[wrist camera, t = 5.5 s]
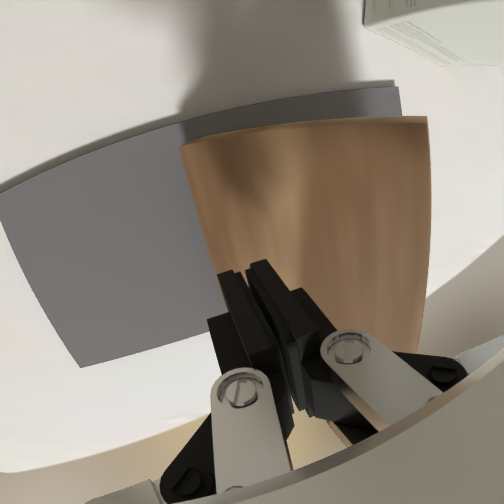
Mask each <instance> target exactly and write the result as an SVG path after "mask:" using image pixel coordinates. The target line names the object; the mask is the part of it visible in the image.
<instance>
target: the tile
mask: <svg viewBox="0 0 504 504" xmlns="http://www.w3.org/2000/svg"><path fill="white" fill-rule="evenodd" d="M179 150H180V153H181V157H182V161H183V164H184V168H185V172H186V175H187V179H188V183H189V186H190V190H191V193H192V197H193V200H194V204H195V207H196V211H197V214H198V218H199V221H200V225H201V228H202V232H203V235H204V238H205V242H206V245H207V248H208V252H209V255H210V258H211V262H212V265H213V268H214V271H215V275H216V278H217V274H219V273H222V272H225V271H228V270H232V269H233V271H234V273H237V272H241V274H242V276H243V277H244V279H245V281H246V283H247V285H248V282H247V278H246V274H245V270H246V269H249V268H250V263H253V262H256V261H260V260H263V259H267V261H268V262H269V263H270V265H271V266H272V267H273V269H274V270H275V271H276V273H277V274H278V275H279V277H280V278H281V279H282V281H283V282H284V283H285V285H286V286H287V287H288V289H289V290H290V291H292V290H294V289H297V288H300V287H301V288H303V289H304V290H305V291H306V292H307V294H308V295H309V296H310V297H311V298H312V300H313V301H314V302H315V303H316V305H317V306H318V307H319V308H320V310H321V311H322V312H323V313H324V314H325V316H326V317H327V318H328V319H329V321H330V322H331V323H332V324H333V326H334V327H335V328H336V329H337V331H338V330H342V329H348V328H349V329H359V330H363V331H365V332H367V333H369V334H371V335H372V336H373V337H374V338H376V339H377V340H378V341H379V342H381V343H382V344H383V345H384V346H386V347H387V348H388V349H389V350H391V351H396V352H404V353H412V354H416V352H417V347H418V342H419V337H420V332H421V326H422V319H423V312H424V305H425V297H426V288H427V278H428V267H429V254H430V236H431V162H430V144H429V131H428V121H427V116H381V117H358V118H341V119H328V120H317V121H306V122H297V123H288V124H279V125H272V126H264V127H257V128H250V129H244V130H237V131H231V132H225V133H220V134H214V135H209V136H205V137H202V138H199V139H197V140H194V141H191V142H188V143H186V144H183V145H181V146H179ZM217 281H218V278H217ZM218 284H219V281H218ZM219 287H220V284H219ZM248 287H249V286H248ZM220 291H221V287H220ZM221 294H222V291H221ZM222 297H223V294H222ZM223 300H224V297H223ZM224 303H225V300H224ZM225 306H226V303H225ZM226 310H227V307H226ZM227 312H228V310H227Z"/></svg>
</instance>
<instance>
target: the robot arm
mask: <svg viewBox="0 0 504 504" xmlns="http://www.w3.org/2000/svg"><path fill="white" fill-rule="evenodd" d="M245 274H246V278H247V282H248V285H247V283H246V281H245V279H244V277H243V276H242V274H241V272H237V273H234V271H233V269H232V270H228V271H225V272H222V273H219V274H217V278H218V281H219V284H220V287H221V291H222V294H223V297H224V300H225V303H226V307H227V310H228V312H227V313H224V314H221V315H218V316H215V317H211V318H208V319H207V323H208V327H209V331H210V335H211V338H212V342H213V345H214V349H215V353H216V356H217V360H218V363H219V367H220V370H221V373H222V376H220V377H219V378H218V379H217V380H216V381H215V383H214V385H213V387H212V389H211V395H210V397H211V413H210V414H209V416H208V417H207V418H206V420H205V421H204V422H203V423H202V425H201V426H200V427H199V429H198V430H197V431H196V432H195V434H194V435H193V436H192V438H191V439H190V440H189V441H188V443H187V444H186V445H185V447H184V448H183V449H182V450H181V452H180V453H179V454H178V455H177V457H176V458H175V459H174V460H173V462H172V463H171V464H170V465H169V467H168V468H167V469H166V470H165V472H164V473H163V475H162V477H161V478H160V479H158V480H155V481H153V482H152V481H151V480H150V479H149V480H146V481H143V482H141V483H138V484H135V485H133V486H130V487H127V488H125V489H122V490H119V491H116V492H113V493H110V494H107V495H104V496H101V497H98V498H94V499H92V500H90V501H88V502H86V503H85V504H504V335H503V336H500V337H497V338H495V339H493V340H491V341H489V342H486V343H484V344H482V345H479V346H477V347H474V348H472V349H470V350H467V351H465V352H462V353H460V354H457V355H456V357H455V359H451V358H447V357H439V356H429V355H421V354H412V353H404V352H396V351H391V350H389V349H388V348H387V347H386V346H384V345H383V344H382V343H381V342H379V341H378V340H377V339H376V338H374V337H373V336H372V335H371V334H369V333H367V332H365V331H363V330H359V329H349V328H348V329H342V330H338V331H337V329H336V328H335V327H334V326H333V324H332V323H331V322H330V321H329V319H328V318H327V317H326V316H325V314H324V313H323V312H322V311H321V310H320V308H319V307H318V306H317V305H316V303H315V302H314V301H313V300H312V298H311V297H310V296H309V295H308V294H307V292H306V291H305V290H304V289H303V288H301V287H300V288H297V289H294V290H292V291H290V290H289V289H288V287H287V286H286V285H285V283H284V282H283V281H282V279H281V278H280V277H279V275H278V274H277V273H276V271H275V270H274V269H273V267H272V266H271V265H270V263H269V262H268V261H267V259H263V260H260V261H256V262H253V263H250V268H249V269H246V270H245ZM248 286H249V287H248ZM291 397H292V399H293V401H294V402H295V404H296V406H297V408H298V410H299V411H301V410H304V409H305V410H306V412H307V414H308V416H309V417H312V416H315V417H316V418H321V419H325V420H327V423H328V425H329V427H330V428H331V429H332V430H333V431H334V433H335V434H336V435H337V436H338V438H340V440H341V441H342V442H343V443H344V444H345V446H346V447H347V448H346V449H344V450H342V451H339V452H337V453H335V454H333V455H331V456H328V457H326V458H324V459H321V460H319V461H316V462H314V463H312V464H309V465H307V466H304V467H302V468H299V469H296V470H293V465H292V461H291V457H290V453H289V449H288V445H287V441H286V440H287V438H288V437H289V435H290V433H291V431H292V429H293V427H294V422H293V417H292V414H293V413H294V409H293V404H292V399H291Z"/></svg>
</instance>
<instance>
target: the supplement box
mask: <svg viewBox="0 0 504 504" xmlns="http://www.w3.org/2000/svg"><path fill="white" fill-rule="evenodd" d="M364 27H365V28H367V29H369V30H371V31H373V32H376V33H378V34H380V35H382V36H384V37H386V38H388V39H391V40H393V41H395V42H396V43H399V44H401V45H403V46H405V47H407V48H408V49H410V50H412V51H414V52H416V53H418V54H420V55H422V56H423V57H425V58H427V59H429V60H430V61H432V62H434V63H436V64H438V65H440V66H501V67H504V0H366V7H365V19H364Z"/></svg>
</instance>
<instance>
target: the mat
mask: <svg viewBox="0 0 504 504" xmlns="http://www.w3.org/2000/svg"><path fill="white" fill-rule="evenodd" d="M381 116H402V110H401V103H400V96H399V89H398V86H397V87H378V88H365V89H354V90H344V91H335V92H327V93H319V94H312V95H305V96H298V97H292V98H286V99H280V100H274V101H269V102H264V103H258V104H253V105H249V106H244V107H239V108H235V109H230V110H226V111H221V112H217V113H213V114H209V115H205V116H201V117H197V118H194V119H190V120H186V121H183V122H179V123H176V124H172V125H169V126H165V127H162V128H159V129H156V130H152V131H149V132H146V133H143V134H140V135H137V136H134V137H131V138H128V139H125V140H122V141H119V142H116V143H114V144H111V145H108V146H106V147H103V148H100V149H98V150H95V151H92V152H90V153H87V154H85V155H82V156H80V157H77V158H75V159H72V160H70V161H68V162H65V163H63V164H61V165H58V166H56V167H54V168H51V169H49V170H47V171H45V172H43V173H40V174H38V175H36V176H34V177H32V178H30V179H28V180H26V181H24V182H22V183H20V184H18V185H16V186H14V187H12V188H10V189H8V190H6V191H4V192H2V193H0V221H1V223H2V226H3V228H4V231H5V233H6V235H7V238H8V240H9V242H10V245H11V247H12V249H13V251H14V254H15V256H16V258H17V260H18V262H19V264H20V266H21V268H22V271H23V273H24V275H25V277H26V279H27V281H28V282H29V284H30V286H31V288H32V290H33V292H34V294H35V296H36V298H37V299H38V301H39V303H40V305H41V307H42V308H43V310H44V312H45V314H46V315H47V317H48V319H49V320H50V322H51V324H52V325H53V327H54V329H55V330H56V332H57V334H58V335H59V337H60V338H61V340H62V341H63V343H64V345H65V346H66V348H67V349H68V351H69V352H70V354H71V355H72V357H73V358H74V360H75V361H76V363H77V364H78V365H79V367H80V368H83V367H87V366H91V365H95V364H98V363H102V362H106V361H110V360H114V359H117V358H121V357H125V356H128V355H132V354H135V353H139V352H142V351H146V350H149V349H153V348H156V347H160V346H163V345H166V344H170V343H173V342H176V341H180V340H183V339H186V338H189V337H193V336H196V335H199V334H202V333H205V332H209V327H208V323H207V319H208V318H211V317H215V316H218V315H221V314H224V313H227V310H226V306H225V303H224V300H223V297H222V294H221V291H220V287H219V284H218V281H217V278H216V275H215V271H214V268H213V265H212V262H211V258H210V255H209V252H208V248H207V245H206V242H205V238H204V235H203V232H202V228H201V225H200V221H199V218H198V214H197V211H196V207H195V204H194V200H193V197H192V193H191V190H190V186H189V183H188V179H187V175H186V172H185V168H184V164H183V161H182V157H181V153H180V150H179V146H181V145H183V144H186V143H188V142H191V141H194V140H197V139H199V138H202V137H205V136H209V135H214V134H220V133H225V132H231V131H237V130H244V129H250V128H257V127H264V126H272V125H279V124H288V123H297V122H306V121H317V120H328V119H341V118H358V117H381Z"/></svg>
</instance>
